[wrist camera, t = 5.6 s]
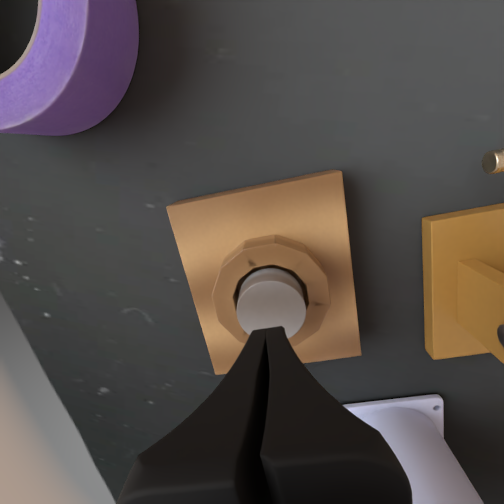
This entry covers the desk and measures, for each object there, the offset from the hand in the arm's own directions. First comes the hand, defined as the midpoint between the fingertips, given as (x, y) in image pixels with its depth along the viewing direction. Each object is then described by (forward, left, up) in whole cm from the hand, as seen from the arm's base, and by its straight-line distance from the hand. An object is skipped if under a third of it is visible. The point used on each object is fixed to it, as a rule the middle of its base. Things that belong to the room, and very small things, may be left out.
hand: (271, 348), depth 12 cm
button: (0, 0, -5) cm, 5 cm away
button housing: (0, 0, -8) cm, 8 cm away
